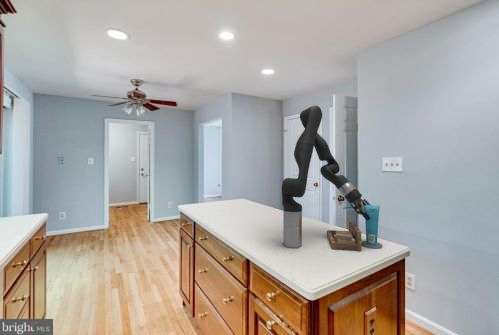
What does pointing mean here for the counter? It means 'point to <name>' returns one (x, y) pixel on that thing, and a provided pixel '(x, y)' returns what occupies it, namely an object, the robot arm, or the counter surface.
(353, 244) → the rack
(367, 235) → the tube
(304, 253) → the counter surface
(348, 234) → the offcut stack
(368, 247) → the coaster
